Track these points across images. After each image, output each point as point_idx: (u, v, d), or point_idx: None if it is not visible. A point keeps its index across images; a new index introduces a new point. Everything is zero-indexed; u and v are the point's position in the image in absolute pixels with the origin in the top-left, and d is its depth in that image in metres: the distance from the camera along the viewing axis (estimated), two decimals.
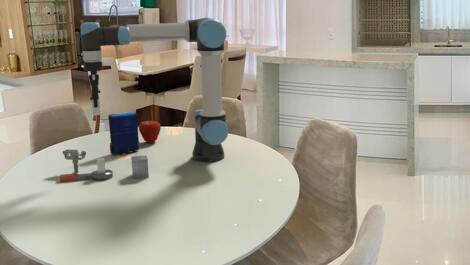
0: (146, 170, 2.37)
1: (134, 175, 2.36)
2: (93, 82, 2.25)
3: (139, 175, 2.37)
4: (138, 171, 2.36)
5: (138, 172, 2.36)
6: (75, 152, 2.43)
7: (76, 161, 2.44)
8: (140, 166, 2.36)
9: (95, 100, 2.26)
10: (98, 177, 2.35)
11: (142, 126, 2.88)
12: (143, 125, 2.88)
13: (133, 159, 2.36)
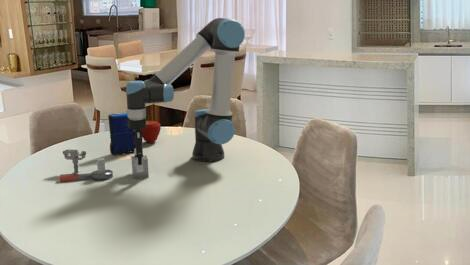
0: (146, 170, 2.37)
1: (134, 175, 2.36)
2: (138, 140, 2.29)
3: (139, 175, 2.37)
4: None
5: (138, 172, 2.36)
6: (75, 152, 2.43)
7: (76, 161, 2.44)
8: None
9: (139, 158, 2.29)
10: (98, 177, 2.35)
11: None
12: None
13: (133, 159, 2.36)
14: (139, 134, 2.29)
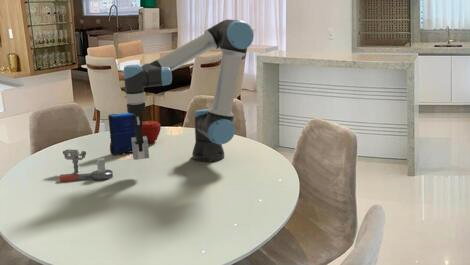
0: (146, 151, 2.35)
1: (134, 156, 2.34)
2: (138, 127, 2.29)
3: None
4: None
5: None
6: (75, 152, 2.43)
7: (76, 161, 2.44)
8: None
9: (140, 144, 2.32)
10: (98, 177, 2.35)
11: (142, 126, 2.88)
12: (143, 125, 2.88)
13: (133, 140, 2.34)
14: (139, 121, 2.28)
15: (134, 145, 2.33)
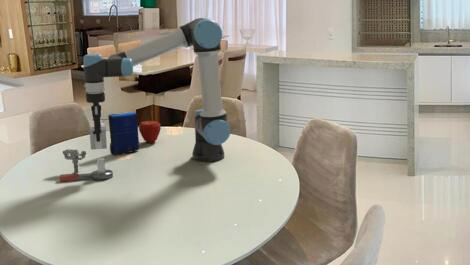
0: (104, 141, 2.33)
1: (92, 146, 2.32)
2: (96, 117, 2.27)
3: None
4: None
5: None
6: (75, 152, 2.43)
7: (76, 161, 2.44)
8: None
9: (98, 134, 2.30)
10: (98, 177, 2.35)
11: (142, 126, 2.88)
12: (143, 125, 2.88)
13: (91, 129, 2.32)
14: (97, 111, 2.26)
15: (92, 135, 2.31)
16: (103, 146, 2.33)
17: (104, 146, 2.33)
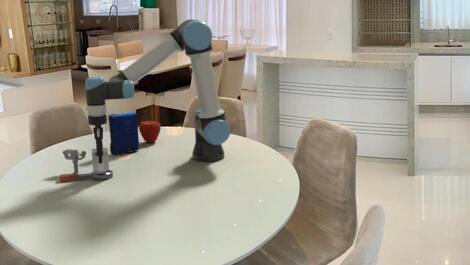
0: (106, 162, 2.35)
1: (94, 167, 2.34)
2: (98, 139, 2.29)
3: None
4: None
5: None
6: (75, 152, 2.43)
7: (76, 161, 2.44)
8: None
9: (100, 156, 2.32)
10: (98, 177, 2.35)
11: (142, 126, 2.88)
12: (143, 125, 2.88)
13: (93, 151, 2.34)
14: (99, 134, 2.28)
15: (94, 157, 2.33)
16: (105, 168, 2.36)
17: (106, 168, 2.36)
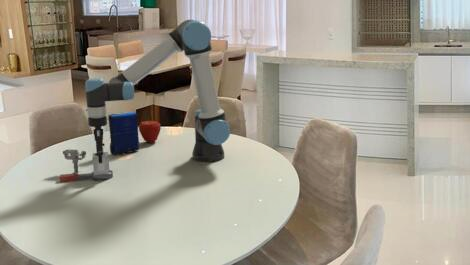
0: (107, 167, 2.36)
1: (95, 172, 2.35)
2: (98, 138, 2.28)
3: (100, 172, 2.35)
4: None
5: None
6: (75, 152, 2.43)
7: (76, 161, 2.44)
8: None
9: (100, 156, 2.29)
10: (98, 177, 2.35)
11: (142, 126, 2.88)
12: (143, 125, 2.88)
13: (94, 156, 2.35)
14: (99, 132, 2.28)
15: (94, 161, 2.34)
16: (106, 172, 2.36)
17: (107, 172, 2.36)
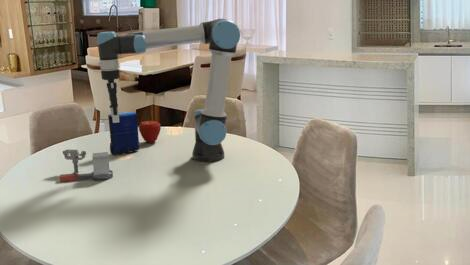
0: (107, 167, 2.36)
1: (95, 172, 2.35)
2: (112, 90, 2.29)
3: (100, 172, 2.35)
4: (99, 168, 2.35)
5: (99, 169, 2.35)
6: (75, 152, 2.43)
7: (76, 161, 2.44)
8: (101, 163, 2.35)
9: (114, 108, 2.30)
10: (98, 177, 2.35)
11: (142, 126, 2.88)
12: (143, 125, 2.88)
13: (94, 156, 2.35)
14: (113, 84, 2.29)
15: (94, 161, 2.34)
16: (106, 172, 2.36)
17: (107, 172, 2.36)
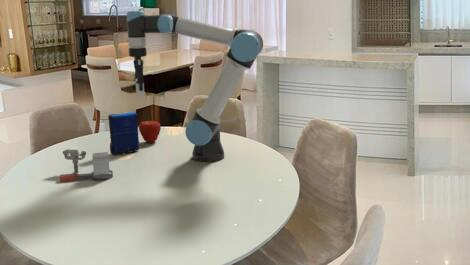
0: (107, 167, 2.36)
1: (95, 172, 2.35)
2: (139, 67, 2.39)
3: (100, 172, 2.35)
4: (99, 168, 2.35)
5: (99, 169, 2.35)
6: (75, 152, 2.43)
7: (76, 161, 2.44)
8: (101, 163, 2.35)
9: (140, 84, 2.40)
10: (98, 177, 2.35)
11: (142, 126, 2.88)
12: (143, 125, 2.88)
13: (94, 156, 2.35)
14: (140, 61, 2.39)
15: (94, 161, 2.34)
16: (106, 172, 2.36)
17: (107, 172, 2.36)
